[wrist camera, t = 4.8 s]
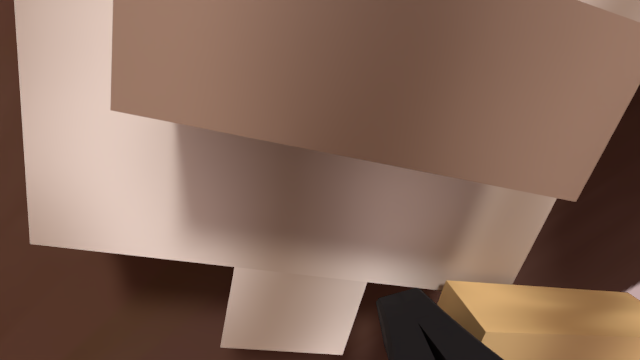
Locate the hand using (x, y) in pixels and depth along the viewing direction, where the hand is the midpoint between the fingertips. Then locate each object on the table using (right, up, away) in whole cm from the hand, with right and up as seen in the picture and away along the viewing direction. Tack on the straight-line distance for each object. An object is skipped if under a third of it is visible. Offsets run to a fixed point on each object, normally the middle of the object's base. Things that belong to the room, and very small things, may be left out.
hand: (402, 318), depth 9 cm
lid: (-2, +6, 0) cm, 6 cm away
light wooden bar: (+5, 0, +1) cm, 5 cm away
